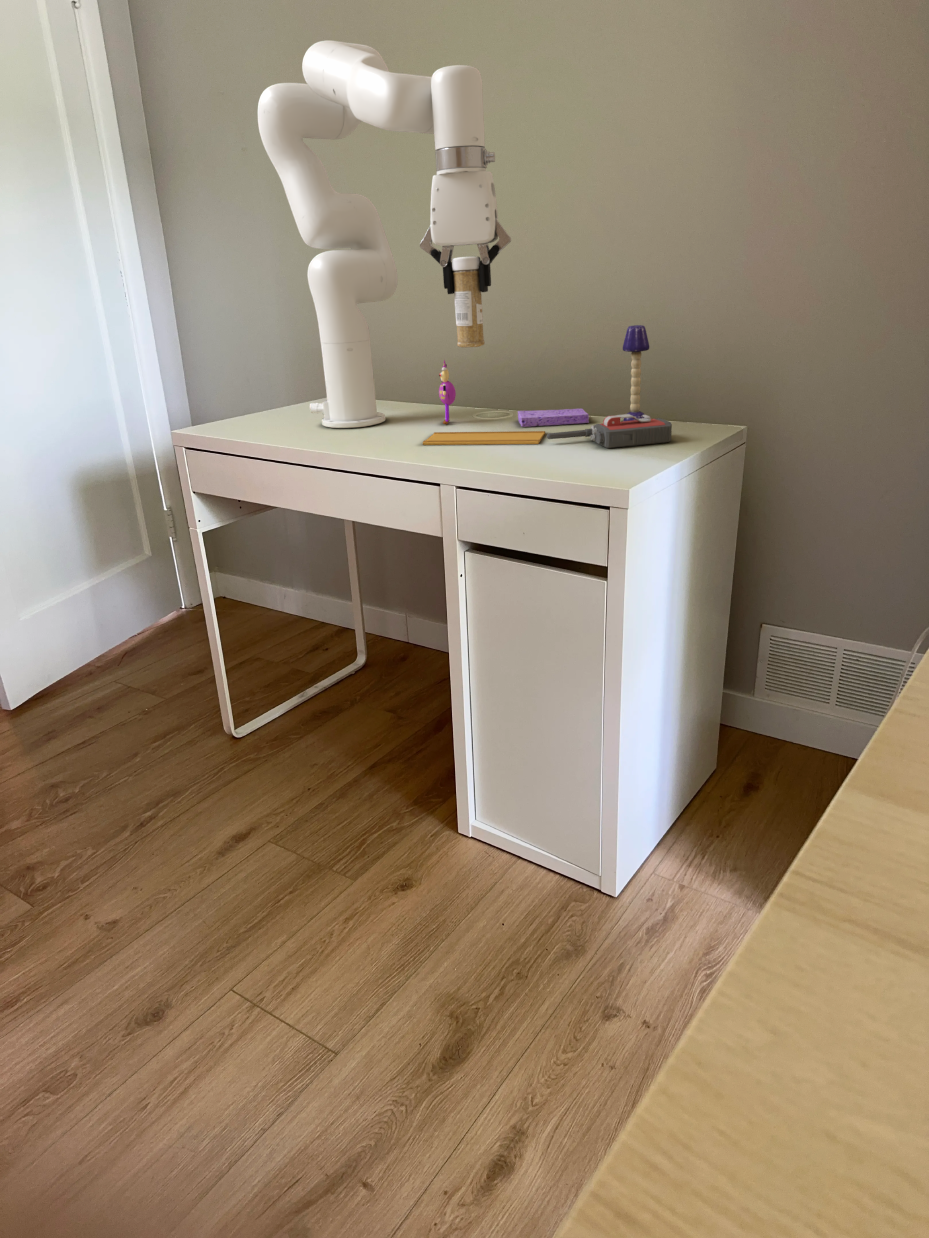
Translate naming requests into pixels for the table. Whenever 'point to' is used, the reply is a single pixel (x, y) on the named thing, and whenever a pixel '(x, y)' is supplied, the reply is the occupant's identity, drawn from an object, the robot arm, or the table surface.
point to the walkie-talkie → (623, 432)
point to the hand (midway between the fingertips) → (467, 291)
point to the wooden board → (484, 438)
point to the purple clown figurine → (446, 391)
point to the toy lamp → (635, 365)
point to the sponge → (552, 417)
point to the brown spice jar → (468, 301)
